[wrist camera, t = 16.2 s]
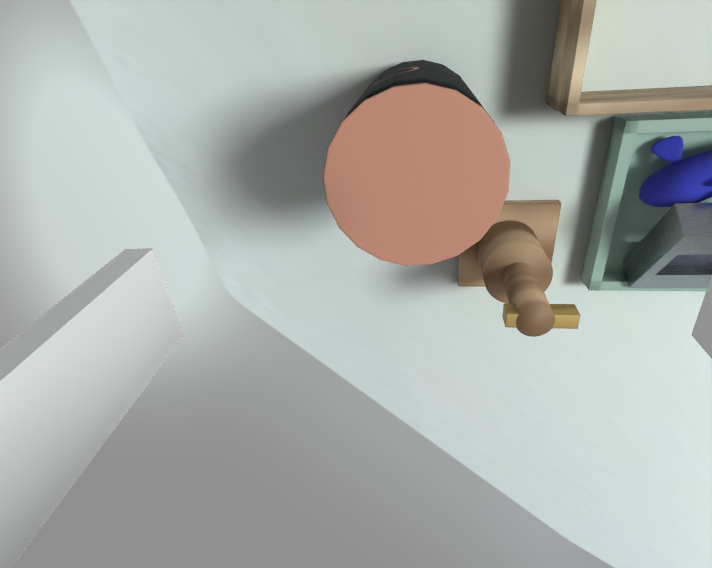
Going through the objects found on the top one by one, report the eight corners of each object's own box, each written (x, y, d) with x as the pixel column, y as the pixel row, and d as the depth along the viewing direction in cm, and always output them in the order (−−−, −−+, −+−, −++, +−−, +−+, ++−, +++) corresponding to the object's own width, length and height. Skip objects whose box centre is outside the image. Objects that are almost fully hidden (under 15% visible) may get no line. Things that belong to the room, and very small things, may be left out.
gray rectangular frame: (623, 260, 45) (628, 288, 44) (686, 191, 34) (695, 226, 33) (723, 259, 44) (731, 288, 42) (820, 188, 33) (835, 223, 32)
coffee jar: (411, 29, 38) (406, 34, 22) (501, 116, 40) (553, 174, 25) (335, 131, 43) (287, 193, 27) (419, 202, 45) (419, 297, 30)
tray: (614, 115, 39) (626, 121, 37) (810, 107, 37) (834, 112, 35) (581, 278, 47) (588, 290, 45) (741, 278, 45) (757, 291, 43)
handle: (462, 201, 44) (478, 268, 32) (558, 199, 43) (612, 268, 31) (457, 281, 49) (470, 366, 37) (545, 282, 48) (587, 369, 36)
